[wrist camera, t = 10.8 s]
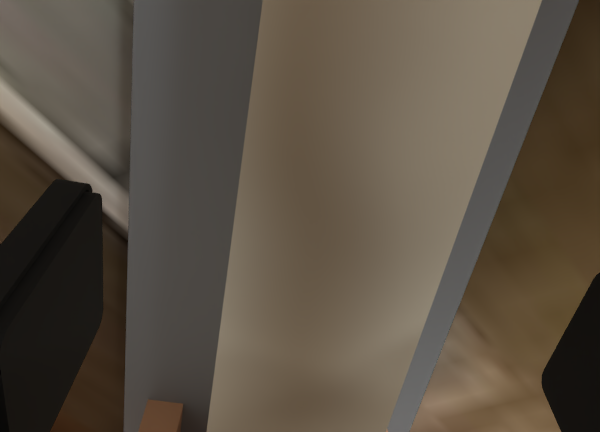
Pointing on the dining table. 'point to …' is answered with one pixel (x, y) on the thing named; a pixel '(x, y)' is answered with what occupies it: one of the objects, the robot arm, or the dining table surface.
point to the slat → (353, 200)
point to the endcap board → (223, 196)
